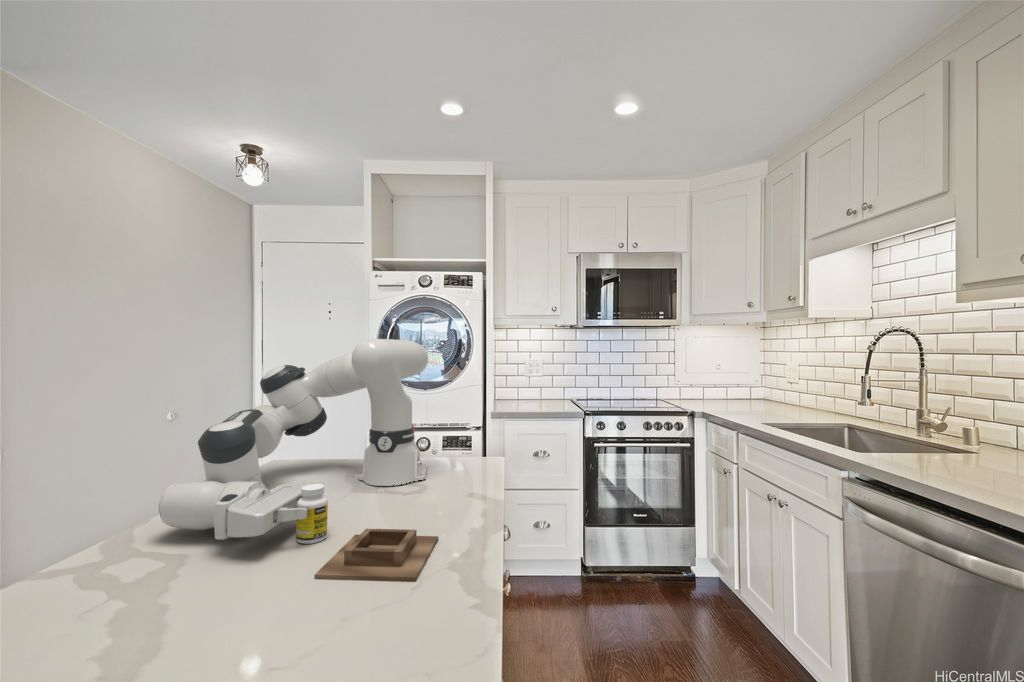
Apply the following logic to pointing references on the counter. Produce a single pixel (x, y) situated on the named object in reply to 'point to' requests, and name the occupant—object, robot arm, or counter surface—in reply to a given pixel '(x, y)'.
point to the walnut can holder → (380, 556)
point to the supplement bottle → (312, 515)
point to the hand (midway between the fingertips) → (316, 506)
